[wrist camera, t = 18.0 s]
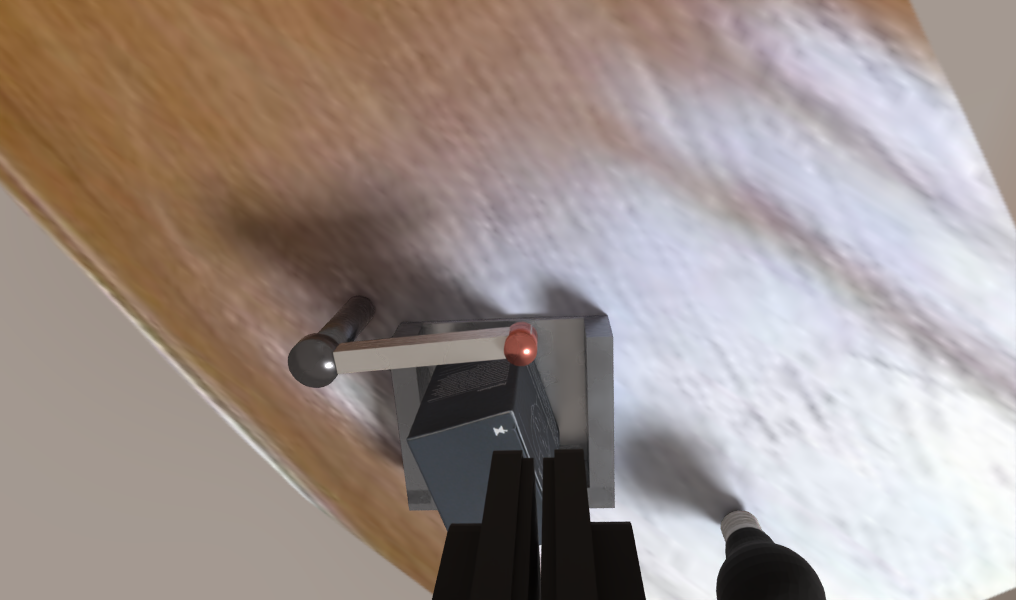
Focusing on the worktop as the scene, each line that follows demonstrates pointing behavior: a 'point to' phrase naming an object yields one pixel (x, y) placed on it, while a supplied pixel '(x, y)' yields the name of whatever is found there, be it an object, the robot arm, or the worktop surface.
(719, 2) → the worktop surface
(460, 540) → the robot arm
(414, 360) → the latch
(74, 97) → the worktop surface
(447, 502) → the box
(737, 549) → the light bulb
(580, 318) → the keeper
